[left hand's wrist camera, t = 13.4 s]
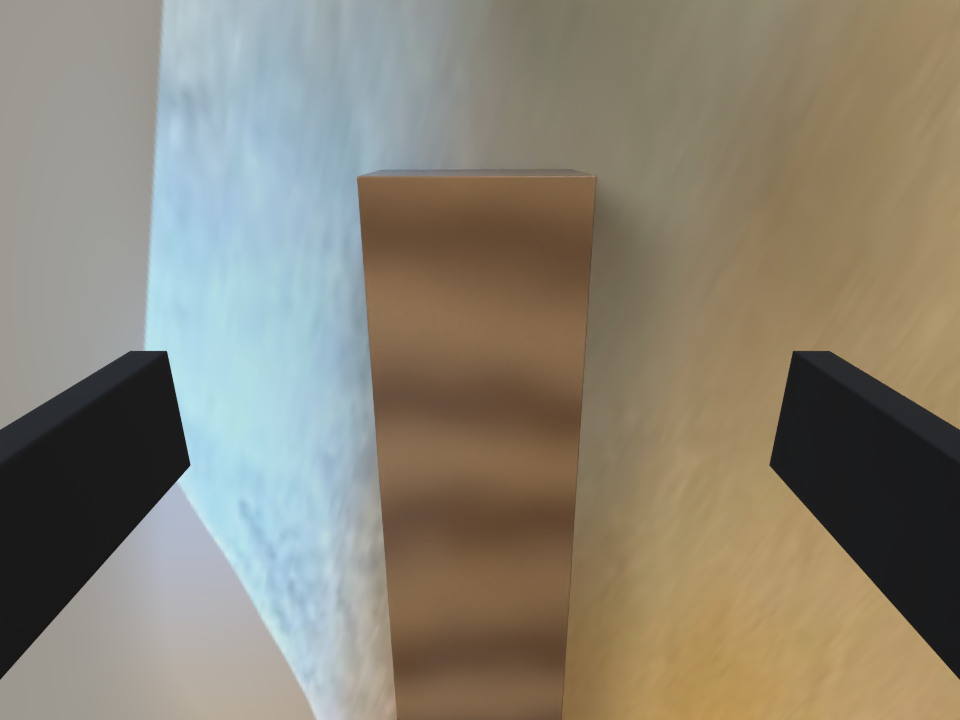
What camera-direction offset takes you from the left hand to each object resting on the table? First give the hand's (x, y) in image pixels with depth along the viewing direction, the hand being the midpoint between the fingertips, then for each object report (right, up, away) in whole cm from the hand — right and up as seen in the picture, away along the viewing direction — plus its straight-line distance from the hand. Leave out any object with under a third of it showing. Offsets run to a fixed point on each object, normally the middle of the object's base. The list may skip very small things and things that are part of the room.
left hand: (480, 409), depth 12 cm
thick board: (0, -13, +26) cm, 29 cm away
